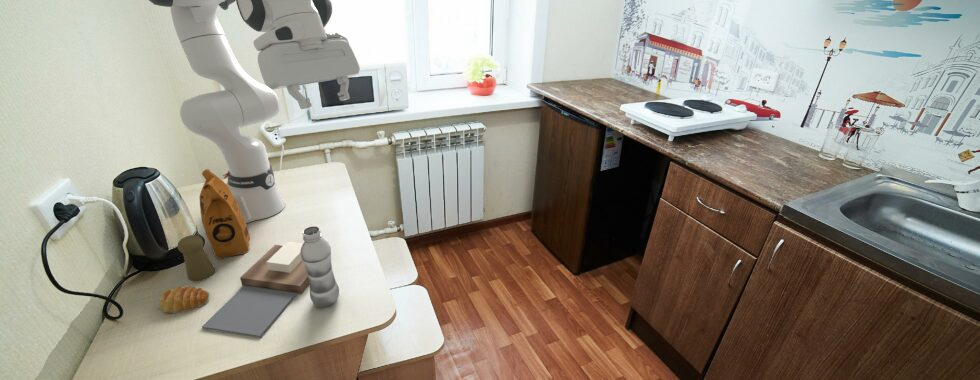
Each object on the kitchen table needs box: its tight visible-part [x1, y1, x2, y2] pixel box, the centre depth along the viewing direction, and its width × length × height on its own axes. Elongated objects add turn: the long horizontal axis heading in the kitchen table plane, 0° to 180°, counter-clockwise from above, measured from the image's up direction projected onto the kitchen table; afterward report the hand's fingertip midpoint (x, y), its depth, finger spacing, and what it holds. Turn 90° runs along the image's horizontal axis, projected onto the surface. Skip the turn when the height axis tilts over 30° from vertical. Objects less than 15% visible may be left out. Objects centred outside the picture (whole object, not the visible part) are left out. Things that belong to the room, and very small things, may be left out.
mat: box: [201, 286, 298, 339], centre depth 95 cm, size 14×14×1 cm
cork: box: [177, 234, 217, 283], centre depth 104 cm, size 6×6×11 cm
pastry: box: [158, 285, 210, 314], centre depth 96 cm, size 9×7×4 cm
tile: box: [267, 241, 304, 273], centre depth 107 cm, size 6×9×2 cm, turn 171°
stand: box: [239, 244, 310, 295], centre depth 107 cm, size 16×14×2 cm
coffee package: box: [199, 168, 251, 260], centre depth 112 cm, size 10×12×22 cm
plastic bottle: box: [300, 225, 340, 308], centre depth 94 cm, size 6×7×20 cm
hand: (326, 103), depth 85 cm, fingers open, 8 cm apart
